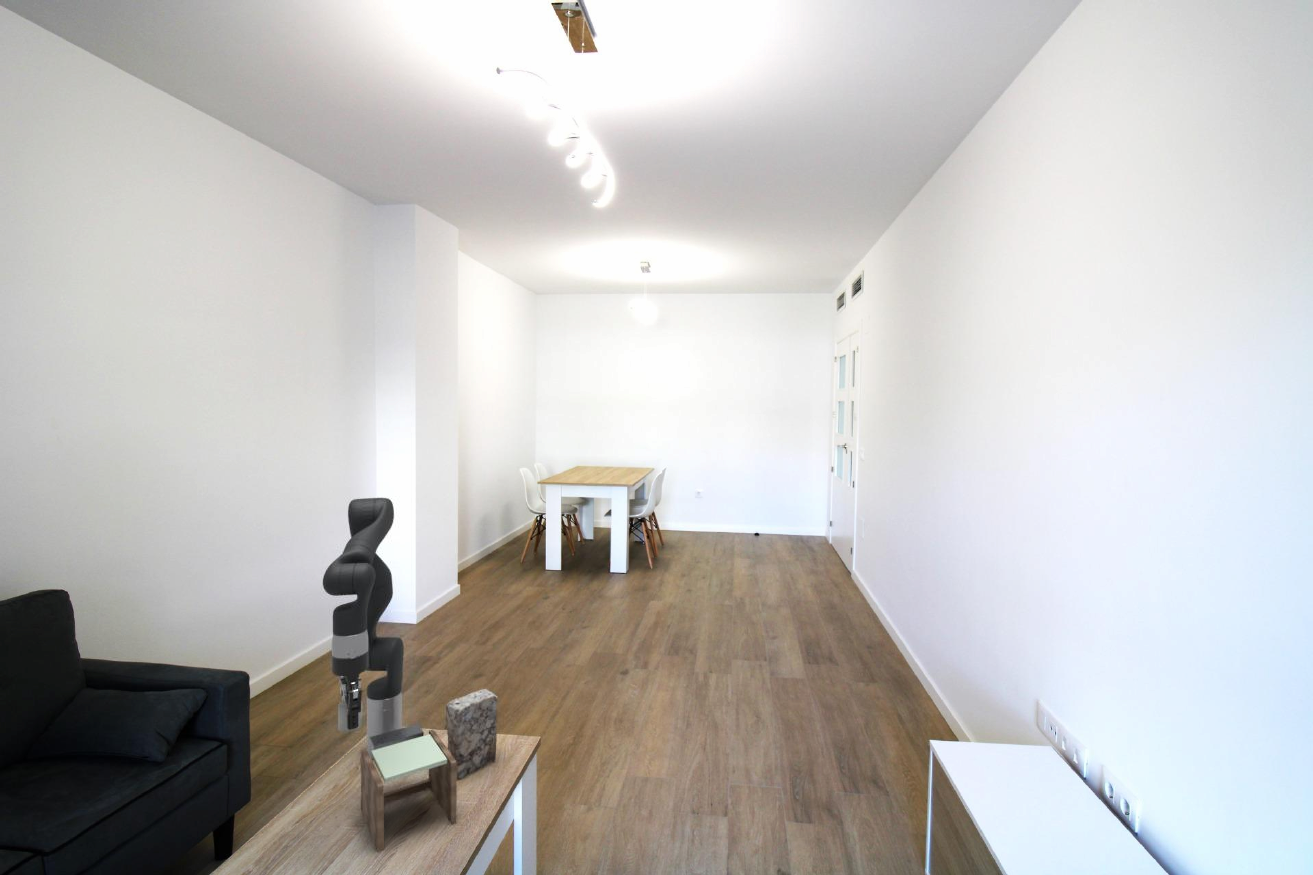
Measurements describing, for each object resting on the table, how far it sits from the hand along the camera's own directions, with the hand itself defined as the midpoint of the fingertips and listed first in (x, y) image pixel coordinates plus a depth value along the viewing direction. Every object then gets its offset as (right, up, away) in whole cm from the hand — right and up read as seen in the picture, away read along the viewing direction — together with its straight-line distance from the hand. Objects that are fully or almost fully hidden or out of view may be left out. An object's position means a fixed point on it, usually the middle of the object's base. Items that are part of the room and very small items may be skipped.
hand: (350, 722), depth 144 cm
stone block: (+19, -26, +30) cm, 44 cm away
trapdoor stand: (+10, -27, +9) cm, 30 cm away
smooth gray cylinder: (0, -1, 0) cm, 1 cm away
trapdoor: (+8, -14, +11) cm, 20 cm away
